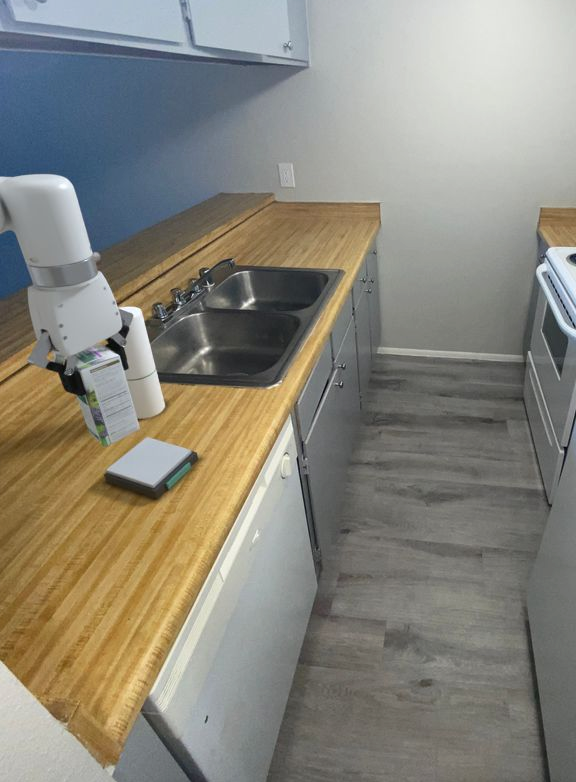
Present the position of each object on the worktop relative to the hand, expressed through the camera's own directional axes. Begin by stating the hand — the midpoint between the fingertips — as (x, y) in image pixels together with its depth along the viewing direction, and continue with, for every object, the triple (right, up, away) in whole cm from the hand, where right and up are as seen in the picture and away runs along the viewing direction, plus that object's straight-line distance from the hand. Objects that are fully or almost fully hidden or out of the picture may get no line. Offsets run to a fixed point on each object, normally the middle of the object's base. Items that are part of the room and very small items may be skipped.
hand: (99, 379), depth 72 cm
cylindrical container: (-13, -11, +37) cm, 41 cm away
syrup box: (0, -9, +5) cm, 10 cm away
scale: (-2, -20, +20) cm, 29 cm away
